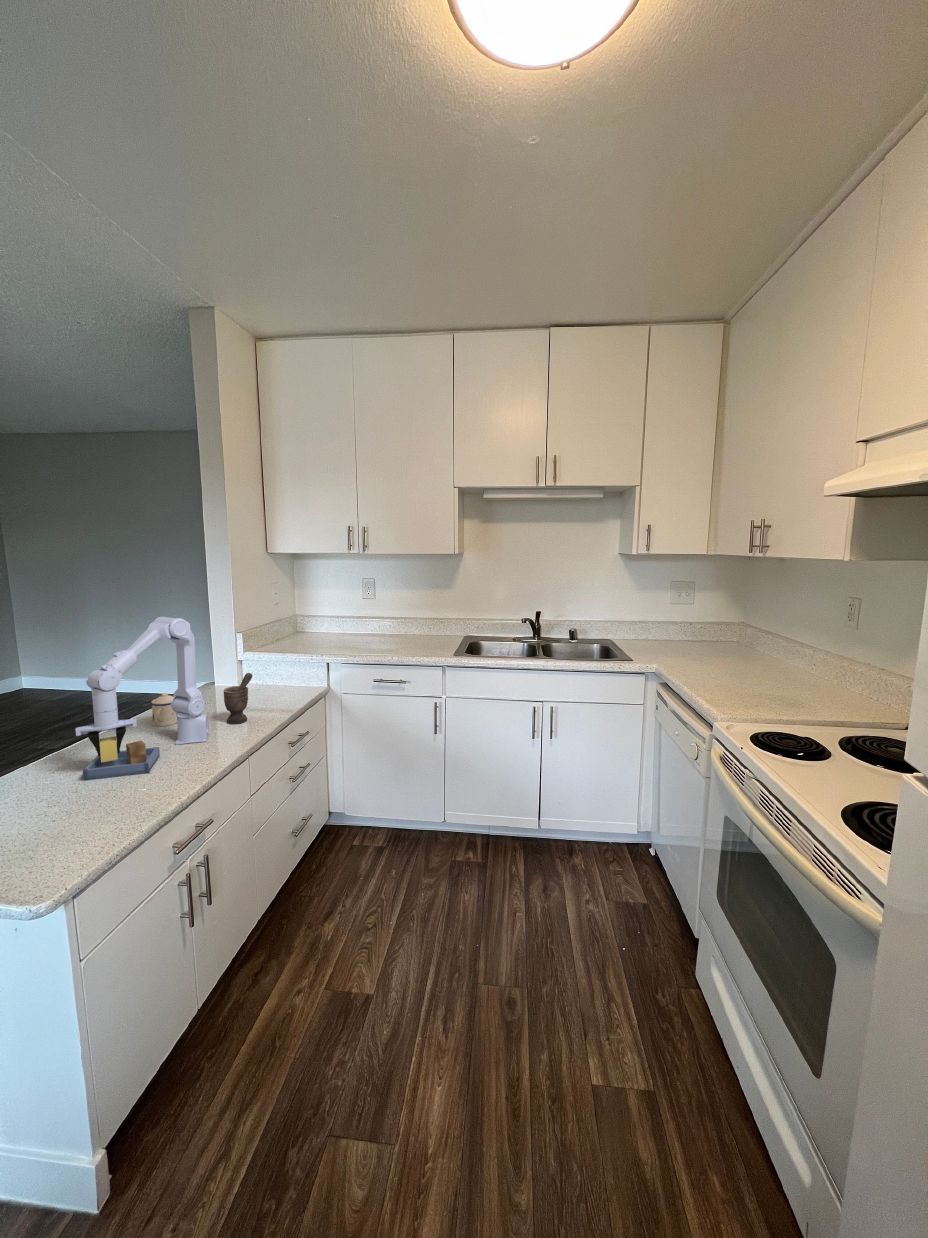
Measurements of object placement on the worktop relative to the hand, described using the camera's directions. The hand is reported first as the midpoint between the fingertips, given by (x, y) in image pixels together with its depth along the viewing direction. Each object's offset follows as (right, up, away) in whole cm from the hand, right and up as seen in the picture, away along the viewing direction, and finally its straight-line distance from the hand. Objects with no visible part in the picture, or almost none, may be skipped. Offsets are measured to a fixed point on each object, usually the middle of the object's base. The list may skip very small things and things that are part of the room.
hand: (109, 753), depth 145 cm
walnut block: (+6, -4, +3) cm, 8 cm away
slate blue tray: (+3, -5, +2) cm, 6 cm away
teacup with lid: (-7, 0, +39) cm, 40 cm away
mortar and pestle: (+20, 0, +43) cm, 48 cm away
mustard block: (0, -2, 0) cm, 2 cm away
